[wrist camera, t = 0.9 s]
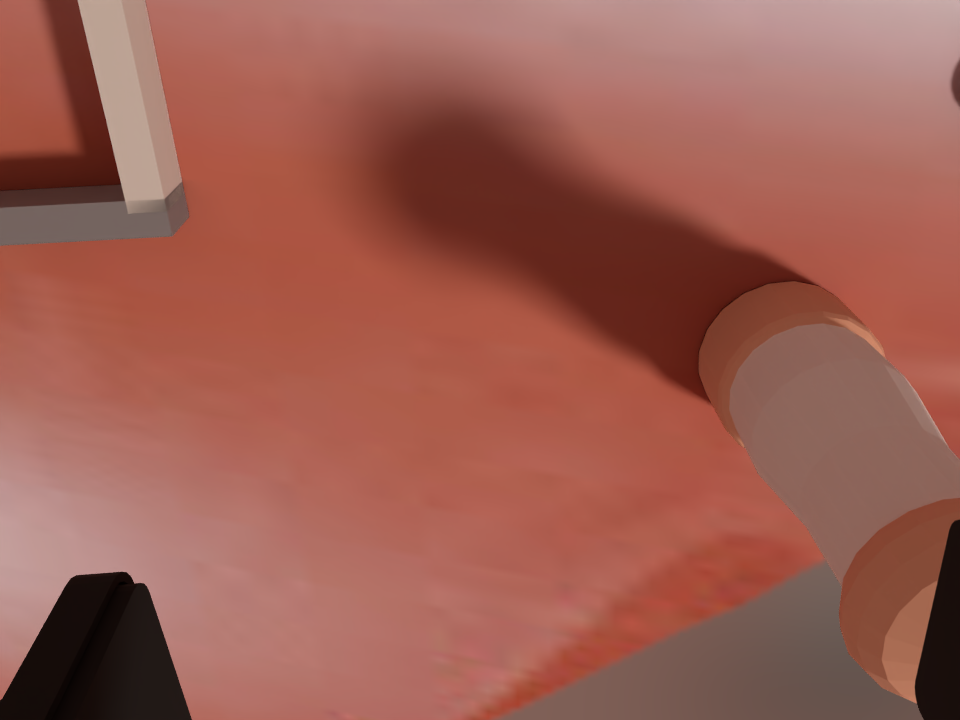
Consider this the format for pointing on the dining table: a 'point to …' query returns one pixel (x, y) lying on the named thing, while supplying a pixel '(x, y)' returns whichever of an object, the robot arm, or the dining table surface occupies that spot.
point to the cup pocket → (135, 140)
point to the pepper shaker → (841, 459)
